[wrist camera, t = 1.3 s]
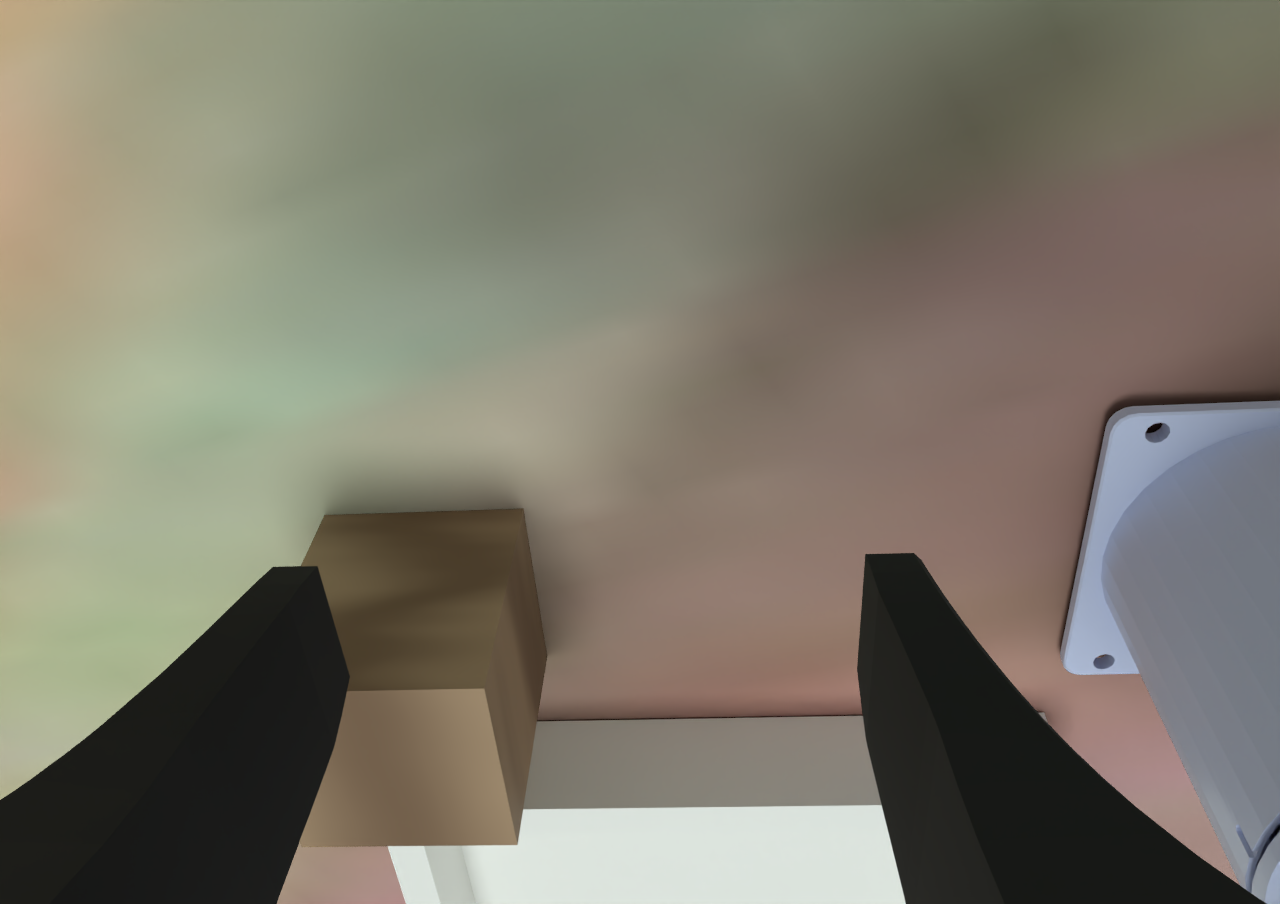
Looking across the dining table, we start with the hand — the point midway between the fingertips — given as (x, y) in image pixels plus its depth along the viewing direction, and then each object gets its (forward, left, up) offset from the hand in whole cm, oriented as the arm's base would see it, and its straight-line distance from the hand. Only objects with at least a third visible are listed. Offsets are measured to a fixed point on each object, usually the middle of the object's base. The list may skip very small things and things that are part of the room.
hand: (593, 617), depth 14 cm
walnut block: (+6, +8, -10) cm, 15 cm away
